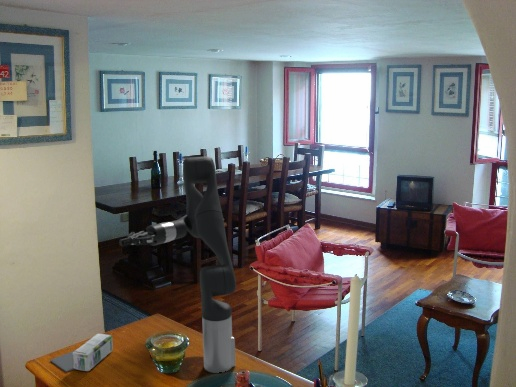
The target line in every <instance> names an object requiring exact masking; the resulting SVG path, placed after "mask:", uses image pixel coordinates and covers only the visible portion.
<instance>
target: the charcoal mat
mask: <svg viewBox="0 0 516 387" xmlns="http://www.w3.org/2000/svg"><path fill="white" fill-rule="evenodd" d="M76 350H77V349H75V350H72V351H70V352H67V353H64V354H62V355H59V356H57V357H54V358H52V359H50V362H51V363H53V364H54V365H55V366H57V367H58V368H60V369H61V370H62V371H64V372H65V373H70V372H71V371H74V370H75V369H74V367H73V352H74V351H76Z"/></svg>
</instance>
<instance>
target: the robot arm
mask: <svg viewBox="0 0 516 387" xmlns="http://www.w3.org/2000/svg"><path fill="white" fill-rule="evenodd" d="M182 176H183V185H184V193H185V196H186V197H185V198H186V212H185V215H183V216H181V217H180V218H179V219H175V220H172V221H166V222H161V223H156V224H152V225H148V226H147V227H146V228H145V230H142V231H138V232H136V233H135V231H131V232H130V233H129V234H127V235H126V238H120V239H119V242H118V243H119V246H120V247H125V246H129V245H132V246H133V245H135V246H147V245H148V246H149V245H150V246H158V245H161V244H165V243H169V242H171V241H174V240H179V239H183V238H184V237H185V236H186V235H187V233H189V234H190V235H191V236H192V237H194V238H195V239H201V241H203V242H204V243H205V245H206V246H207V247H209V249H211V251H212V252H213V253H214V254H215V256H216V258H217V260H218V262H219V265H210V266H203V267H201V269H200V271H199V287H200V300H201V318H202V320H201V321H202V322H201V323H202V347H203V349H202V351H203V368H204V371H207V372H209V373H212V374H220V373H219V372H222V373H226V372H228V371H230V370H232V368H233V367H236V339H235V337H234V336H233V324H232V323H233V321H232V319H233V318H232V307H231V305H230V304H229V303H227V302H224V301H221V300H217V299H215V298H213V297H218V296H225V295H226V296H227V295H231V294H234V293H235V292H236V288H237V282H236V275H235V274H236V273H235V271H234V270H235V269H234V266H233V261H232V257H231V255H230V251H229V246H228V241H227V235H226V227H225V221H224V215H223V210H222V207H221V205H222V204H221V202H220V197H219V191H218V190H219V189H218V183H217V181H218V180H217V172H216V165H215V162H214V159H213V157H211V156H195V157H191V156H190V157H186V158H185V159H184V160H183V162H182ZM195 184H207V186H206V190H205V192H204V195H203V194H202V193H201V191H199V190H198V189H197V187H196V186H195ZM225 371H226V372H225Z"/></svg>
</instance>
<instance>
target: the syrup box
mask: <svg viewBox="0 0 516 387" xmlns="http://www.w3.org/2000/svg"><path fill="white" fill-rule="evenodd" d="M113 347H114V346H113V335H111V334H104V333H96V334H95V335H94V336H93V337H90V339H88V340H87V341H86V342H84V344H82V345H81V346H80V347H78V348H77V349H75V350H76V351H75V350H73V351H74V352H73V367H74V370H78V371H82V372H83V371H84V372H89V371H91V369H94V367H95V366H96V365H97V364H99V363H100V362H101V361H102V360H103V359H105V358H106V357H107V355H109V354H110V353H111V352H113V350H114V349H113Z"/></svg>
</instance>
